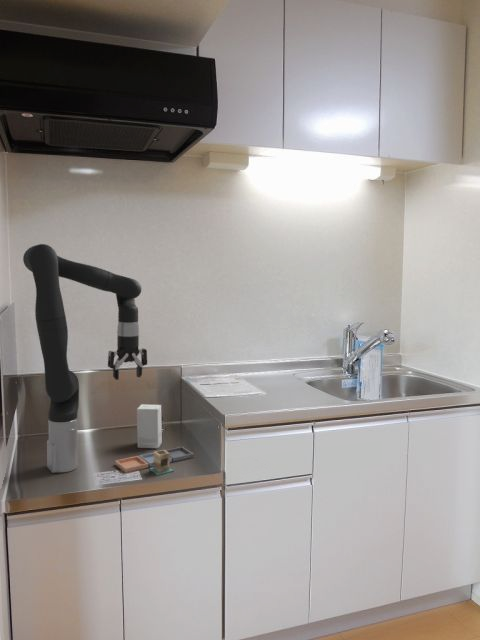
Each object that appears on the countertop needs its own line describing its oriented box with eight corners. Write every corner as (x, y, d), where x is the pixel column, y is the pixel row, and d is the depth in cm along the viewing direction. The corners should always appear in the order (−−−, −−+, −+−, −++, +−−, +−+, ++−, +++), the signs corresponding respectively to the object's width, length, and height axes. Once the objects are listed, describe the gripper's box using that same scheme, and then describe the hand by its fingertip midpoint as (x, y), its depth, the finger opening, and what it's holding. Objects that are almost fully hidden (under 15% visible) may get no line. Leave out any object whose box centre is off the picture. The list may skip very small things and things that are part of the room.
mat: (157, 475, 173) (157, 474, 173) (149, 469, 178) (149, 468, 178) (173, 471, 177) (173, 470, 177) (165, 465, 182) (165, 464, 182)
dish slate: (149, 467, 180) (149, 463, 179) (139, 459, 186) (139, 455, 186) (171, 462, 185) (171, 458, 184) (160, 454, 191) (160, 451, 191)
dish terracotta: (125, 473, 174) (125, 468, 174) (115, 464, 181) (115, 460, 181) (148, 467, 179) (148, 463, 179) (137, 459, 186) (137, 455, 186)
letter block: (158, 472, 175) (159, 455, 174) (153, 468, 178) (153, 451, 177) (169, 470, 177) (169, 452, 176) (163, 466, 180) (164, 449, 179)
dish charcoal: (172, 462, 185) (173, 458, 185) (161, 454, 192) (161, 450, 192) (193, 457, 190) (193, 453, 190) (182, 450, 197) (182, 446, 196)
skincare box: (162, 443, 203) (162, 404, 202) (157, 449, 197) (158, 409, 195) (141, 442, 204) (141, 403, 202) (136, 448, 198) (136, 408, 196)
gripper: (113, 336, 181) (113, 382, 183) (150, 334, 189) (150, 378, 191) (105, 333, 187) (105, 378, 189) (141, 331, 195) (141, 374, 197)
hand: (127, 378), depth 190 cm, fingers open, 8 cm apart
